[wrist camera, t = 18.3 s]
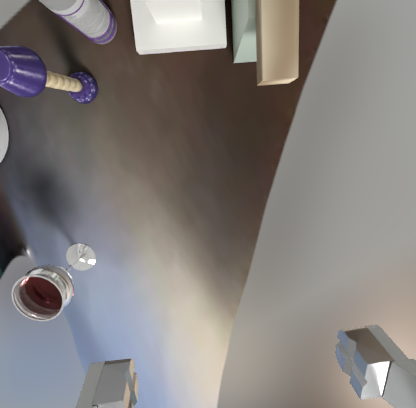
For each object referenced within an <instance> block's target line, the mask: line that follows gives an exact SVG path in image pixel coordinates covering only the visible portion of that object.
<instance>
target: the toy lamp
mask: <svg viewBox="0 0 416 408" xmlns="http://www.w3.org/2000/svg"><path fill="white" fill-rule="evenodd" d="M45 86H47V87H52V88H55V89H61V90H67V91H68V93H69V94H70V96H71V97H72V98H73V99H74V100H75V101H77V102H79V103H84V104H86V103H90V102H92V101H93V100H94V99H95V98H96V95H97V92H98V87H97V83H96V81H95V79H94V78H93V77H92V76H91V75H89V74H88V73H85V72H75V73H73V74H72V75H71V76H70V77H67V76H65V75H60V74H58V73H53V72H51V71H46V67H45V65H44V63H43V61H42V59H41V58H40V57H39V56H38V55H37V54H36V53H35V52H34V51H32V50H30V49H28V48H26V47H22V46H0V87H2V88H4V89H6V90H8V91H10V92H12V93H14V94H16V95H18V96H22V97H33V96H36V95H38V94H39V93H41V92H42V91H43V89H44V88H45Z"/></svg>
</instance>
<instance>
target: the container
mask: <svg viewBox="0 0 416 408" xmlns="http://www.w3.org/2000/svg"><path fill="white" fill-rule="evenodd" d="M39 1H40V2H41V3H43V4H44V5H45V6H46V7H47V8H49V9H50V10H51V11H52V12H54V13H55V14H56V15H58V16H59V17H61V18H62V19H63V20H65V21H66V22H67V23H69V24H70V25H71V26H73V27H74V28H75V29H77V30H78V31H79V32H81V33H82V34H83V35H85V36H86V37H87V38H89V39H90V40H91V41H93V42H95V43H97V44H106V43H108V42H110V41H111V40H112V39H113V38H114V36H115V34H116V31H117V22H116V19H115V17H114V15H113V13H112V12H111V11H110V10H109V8H108V7H107V6H106V5H105V4H104V2H103V1H102V0H39Z"/></svg>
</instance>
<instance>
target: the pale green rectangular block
mask: <svg viewBox="0 0 416 408" xmlns="http://www.w3.org/2000/svg"><path fill="white" fill-rule="evenodd" d="M231 8H232V32H233V57H234V63H241V62H254V61H257V55H256V11H255V0H231Z"/></svg>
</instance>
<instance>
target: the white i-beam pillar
mask: <svg viewBox="0 0 416 408" xmlns="http://www.w3.org/2000/svg"><path fill="white" fill-rule="evenodd" d="M130 2H131V11H132V19H133V27H134V35H135V44H136V51H137V52H138V53H139V54H140V55H142V54H155V53H167V52H180V51H192V50H205V49H218V48H226V44H227V40H226V19H225V0H130Z"/></svg>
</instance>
